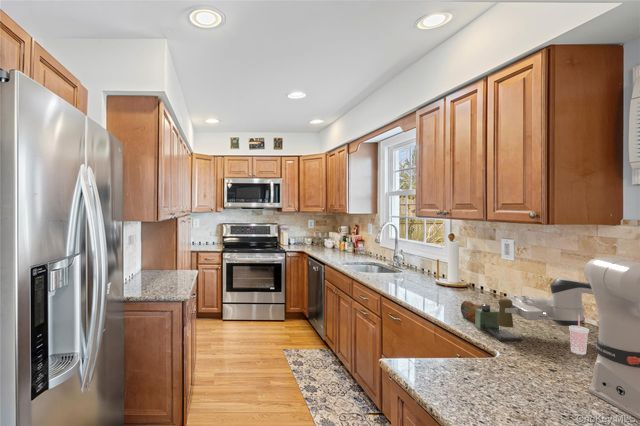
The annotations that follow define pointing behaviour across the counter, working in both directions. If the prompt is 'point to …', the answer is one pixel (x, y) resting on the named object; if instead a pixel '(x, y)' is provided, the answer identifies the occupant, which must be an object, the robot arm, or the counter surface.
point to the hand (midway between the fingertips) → (501, 308)
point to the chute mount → (493, 324)
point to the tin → (469, 310)
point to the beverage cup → (578, 338)
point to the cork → (504, 317)
